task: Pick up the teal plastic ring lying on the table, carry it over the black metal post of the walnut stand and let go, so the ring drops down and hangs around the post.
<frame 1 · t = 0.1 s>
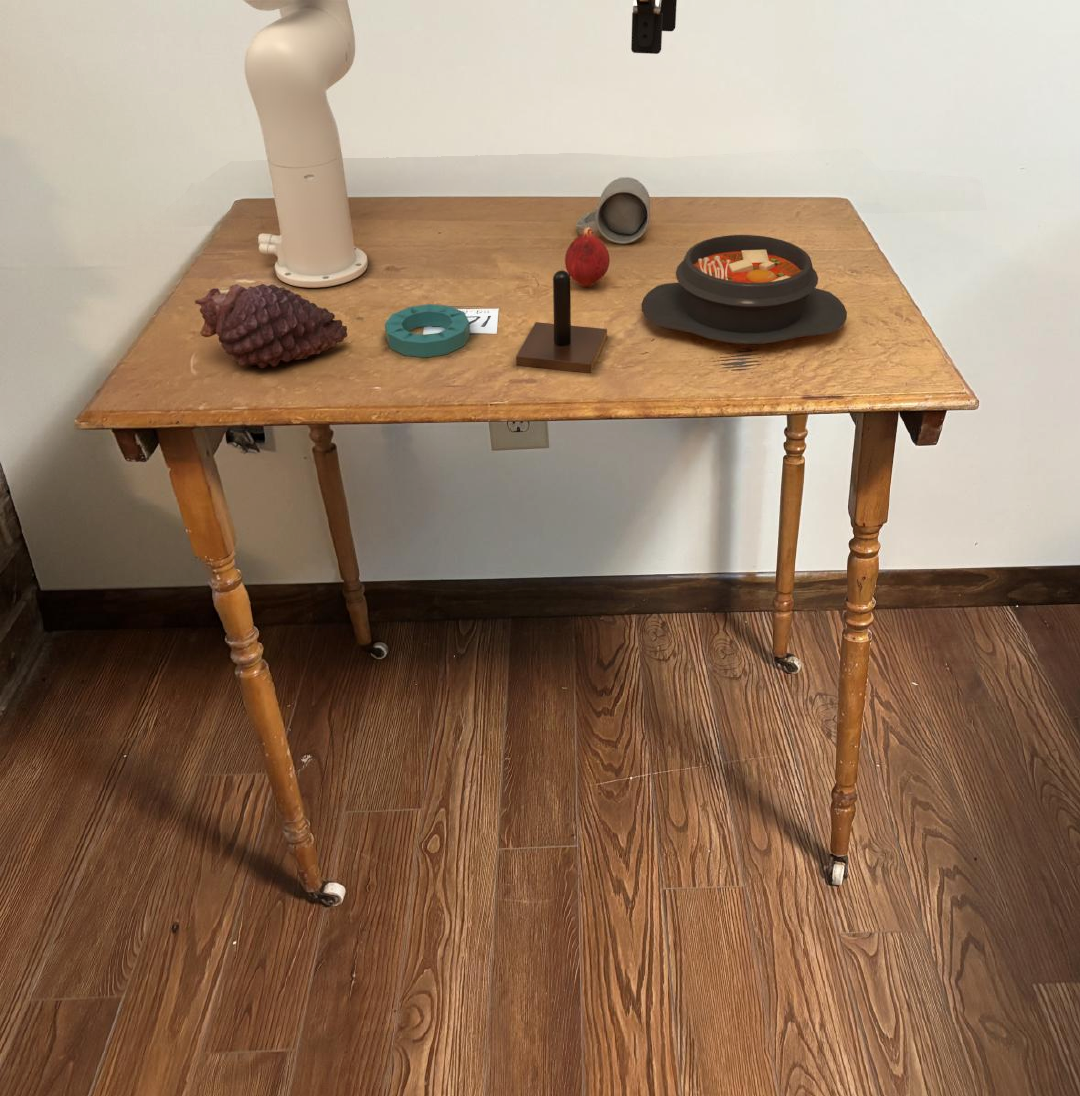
hand: (653, 41, 123), 31 cm above the table, tool pointing down, fingers open, 9 cm apart
ceramic mug: (614, 235, 159), on the table
pine cone: (278, 360, 132), on the table
onion: (587, 288, 145), on the table
casserole: (741, 323, 136), on the table
stand: (562, 351, 131), on the table
ring: (428, 337, 135), on the table
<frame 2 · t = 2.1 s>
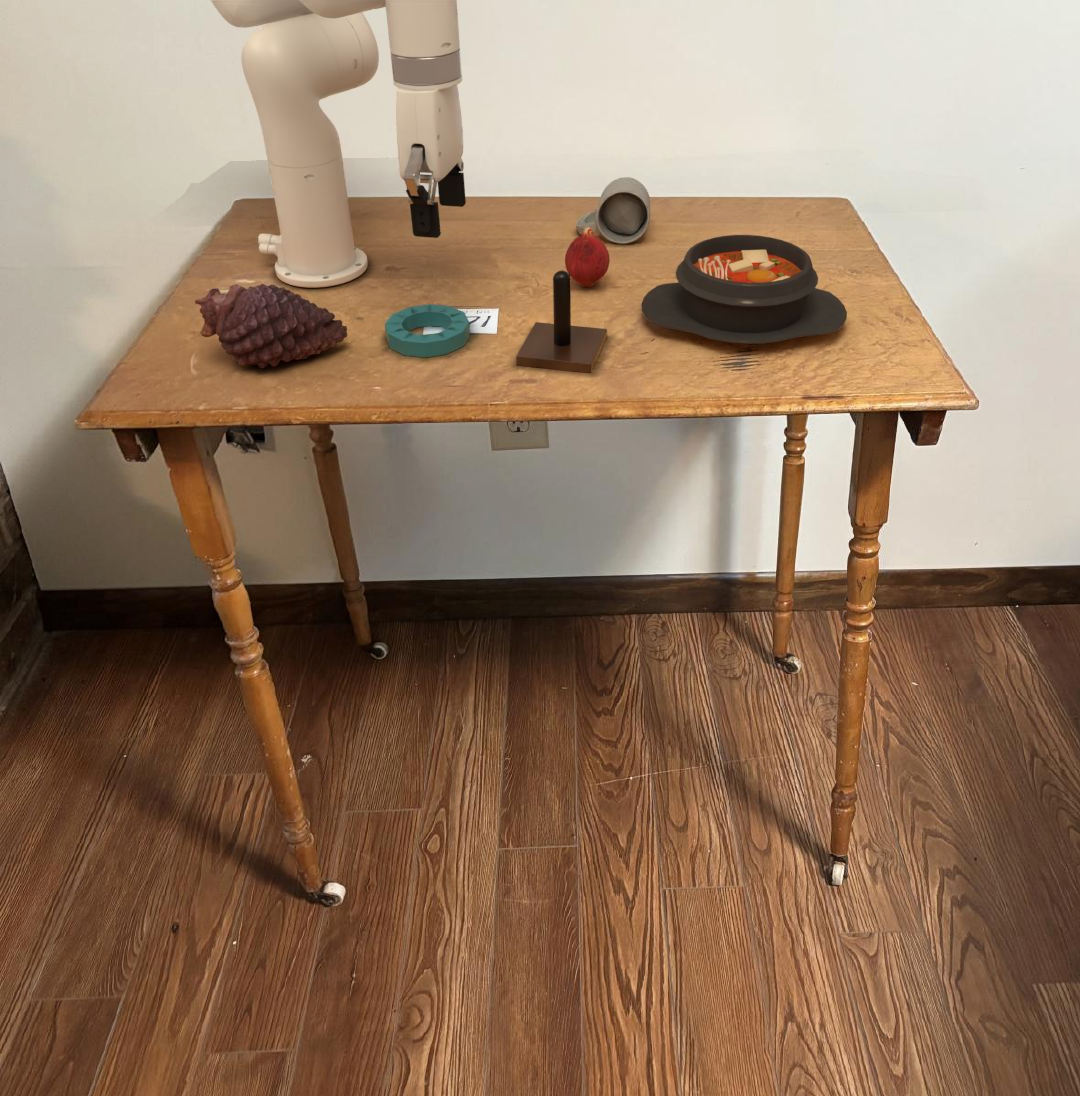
hand: (440, 220, 130), 13 cm above the table, tool pointing down, fingers open, 9 cm apart
nothing on the table moved.
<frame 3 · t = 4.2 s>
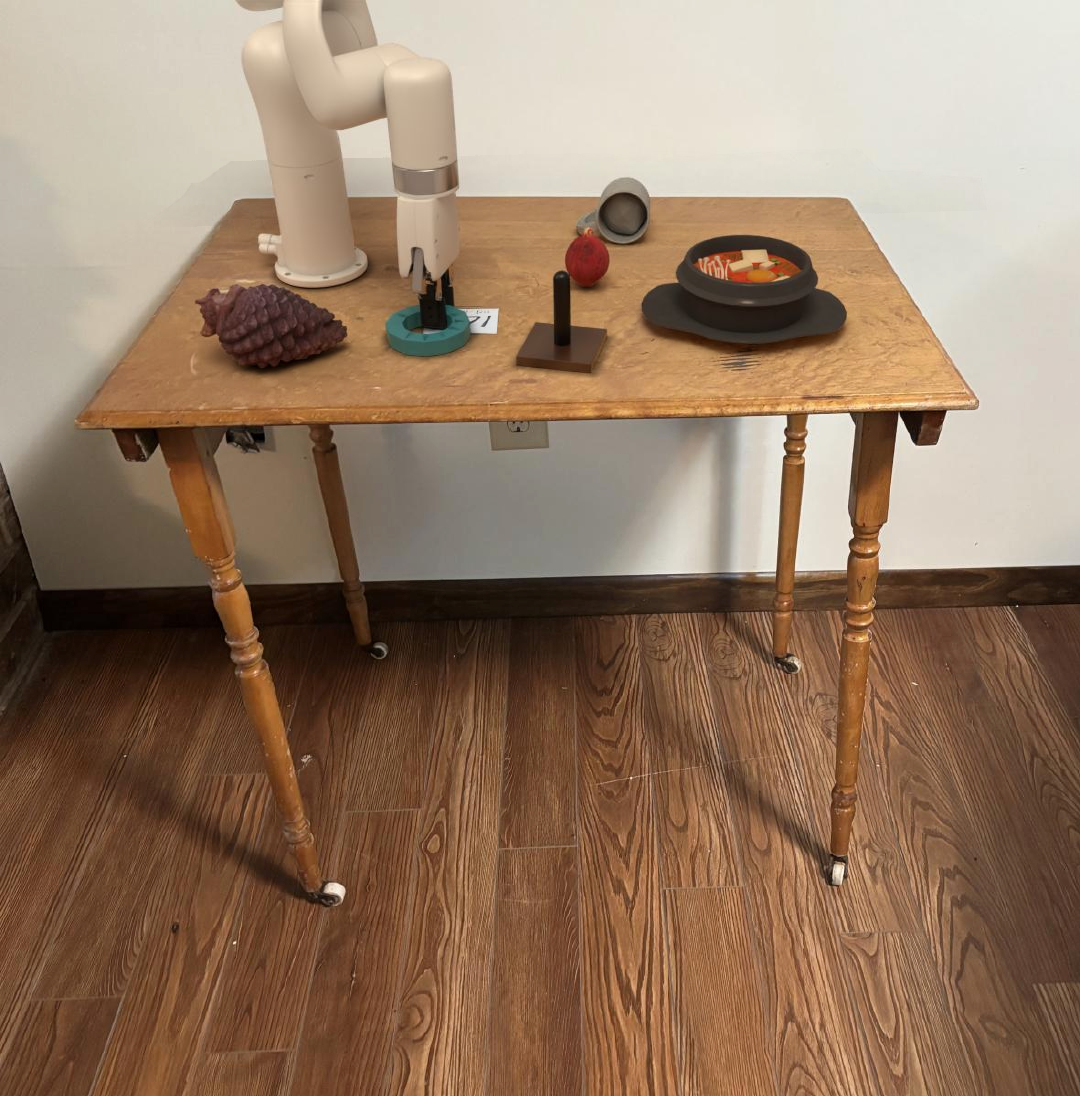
hand: (438, 320, 138), 0 cm above the table, tool pointing down, fingers closed on ring, 2 cm apart
ring: (428, 336, 135), on the table, touching gripper
everything else where it was.
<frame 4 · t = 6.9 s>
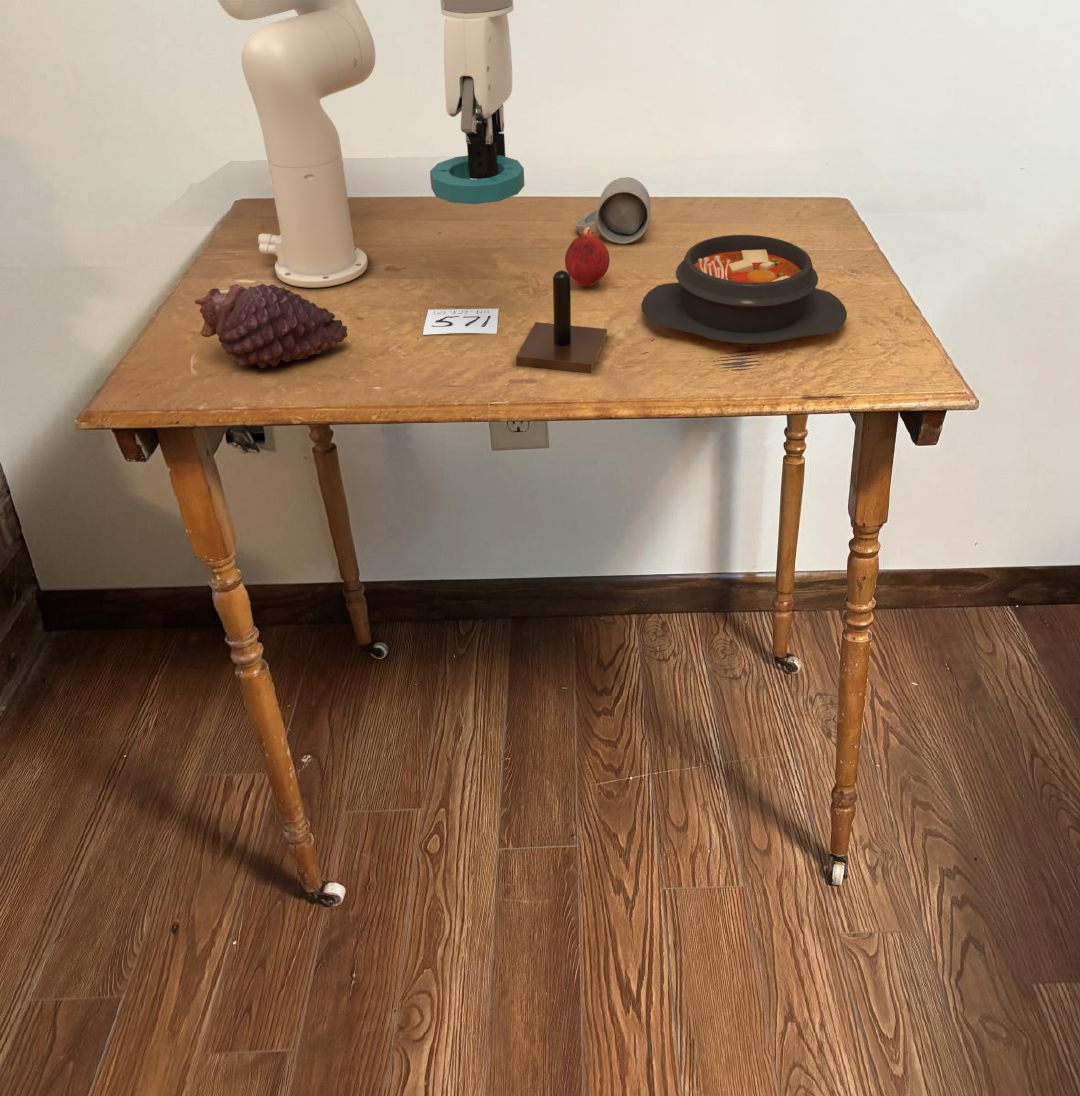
hand: (487, 172, 124), 20 cm above the table, tool pointing down, fingers closed on ring, 2 cm apart
ring: (477, 187, 122), point 19 cm above the table, touching gripper
everything else where it was.
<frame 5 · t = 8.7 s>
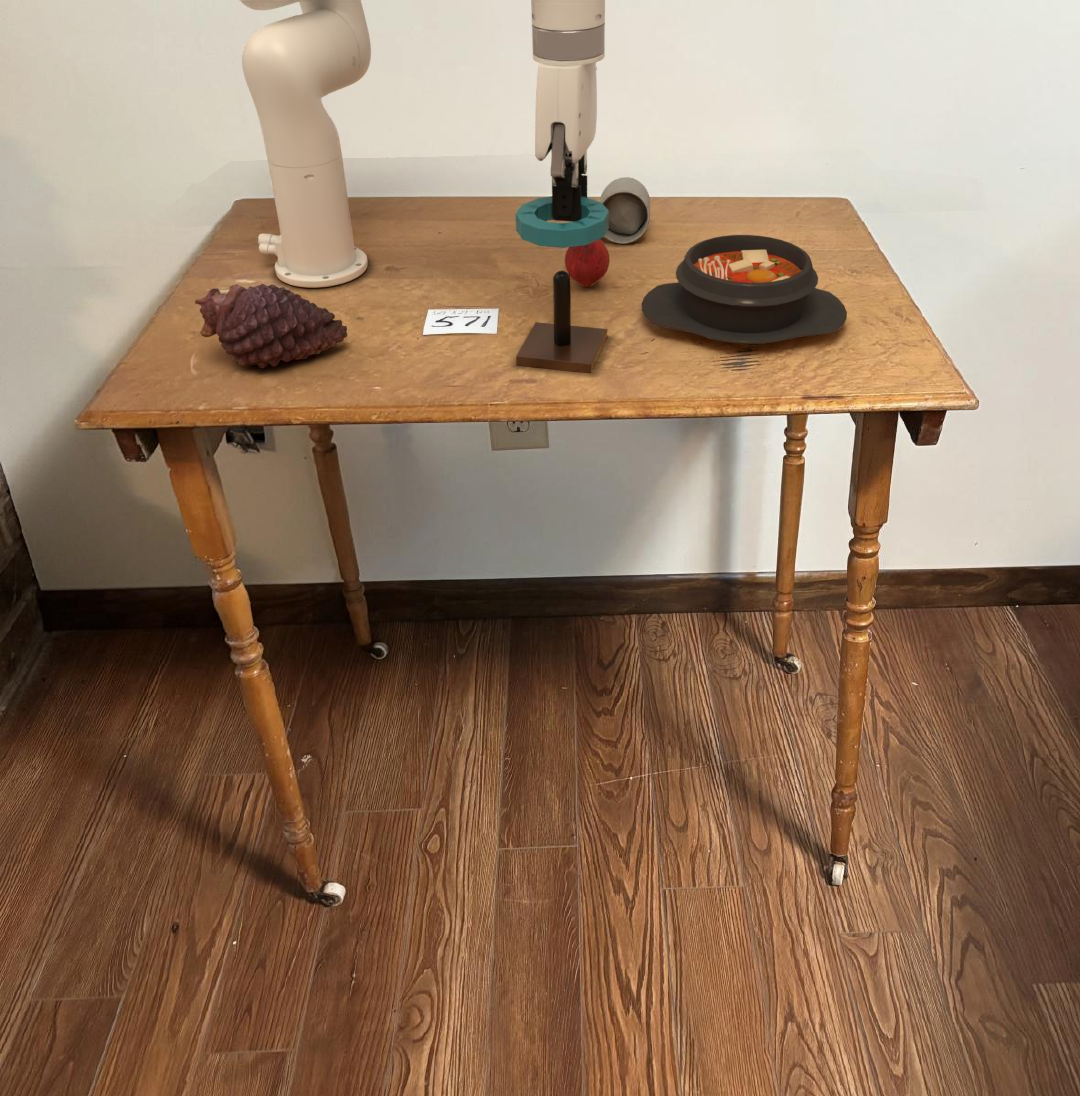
hand: (570, 213, 125), 15 cm above the table, tool pointing down, fingers closed on ring, 2 cm apart
ring: (562, 229, 122), point 15 cm above the table, touching gripper
everything else where it was.
when the fingers open (12 cm above the table, at t = 9.9 s): ring drops 11 cm, resting on stand.
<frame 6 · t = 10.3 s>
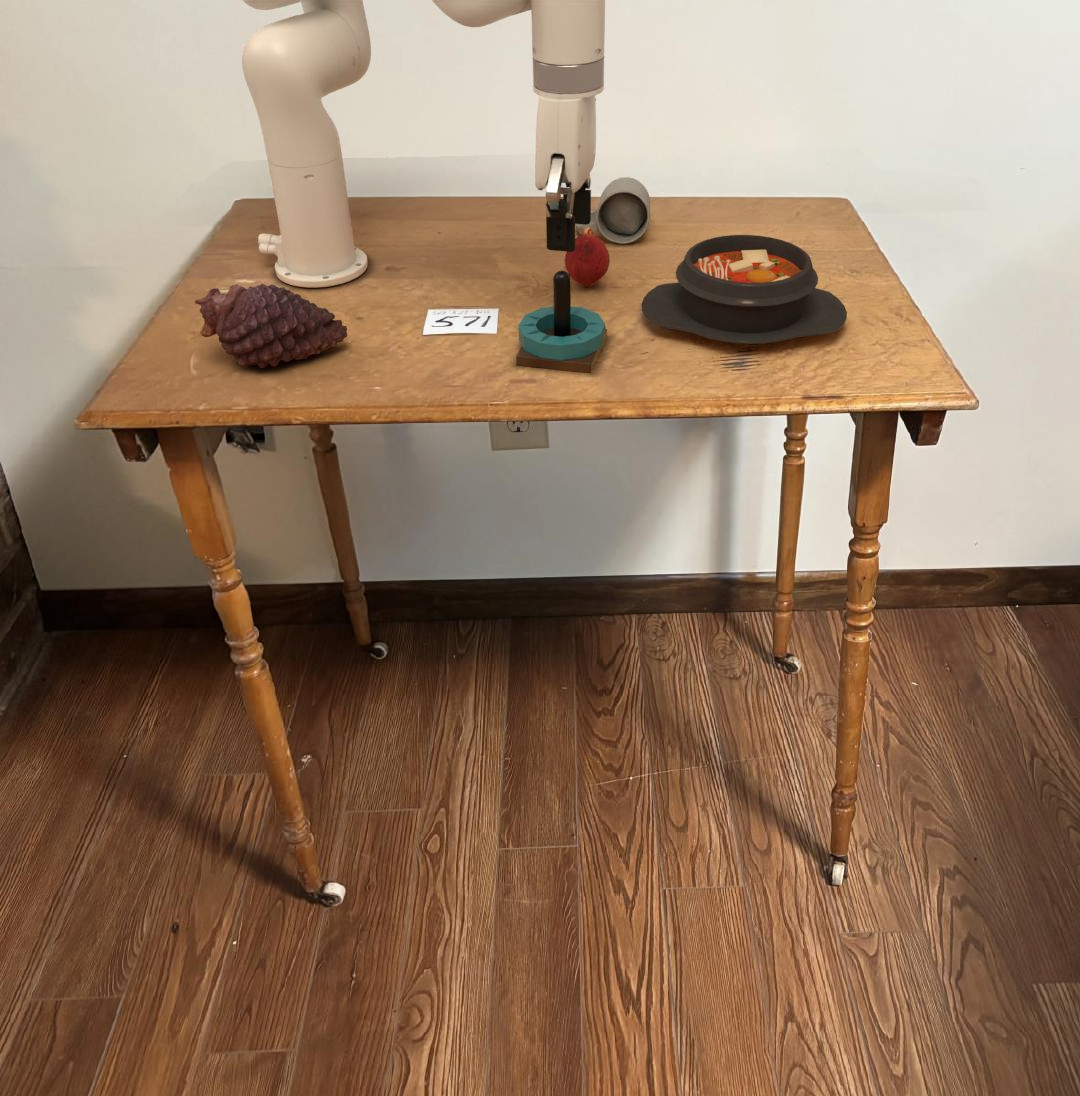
hand: (569, 235, 127), 13 cm above the table, tool pointing down, fingers open, 7 cm apart
ring: (562, 339, 131), point 1 cm above the table, touching stand
everything else where it was.
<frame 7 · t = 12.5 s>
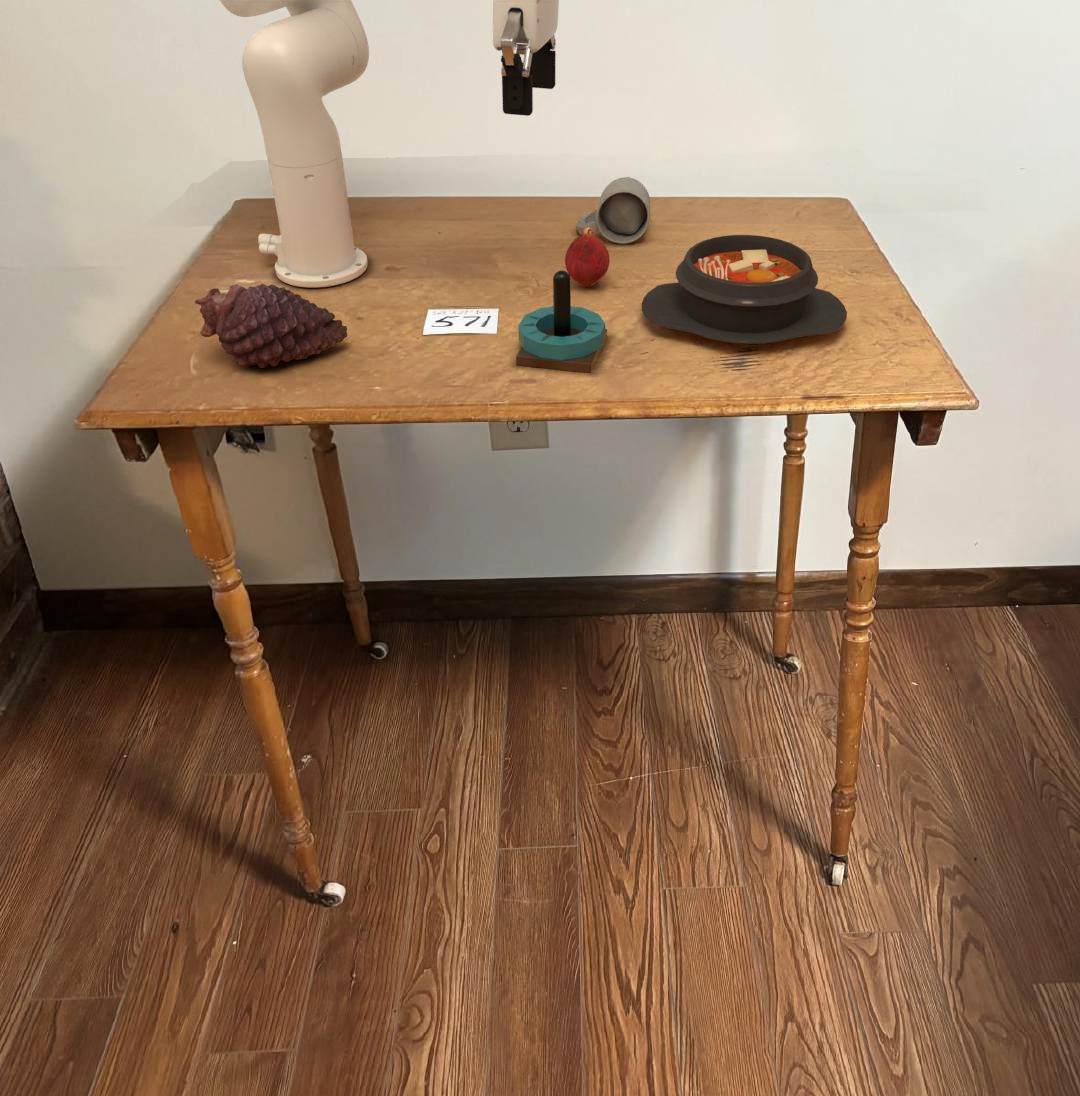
hand: (529, 100, 122), 27 cm above the table, tool pointing down, fingers open, 9 cm apart
nothing on the table moved.
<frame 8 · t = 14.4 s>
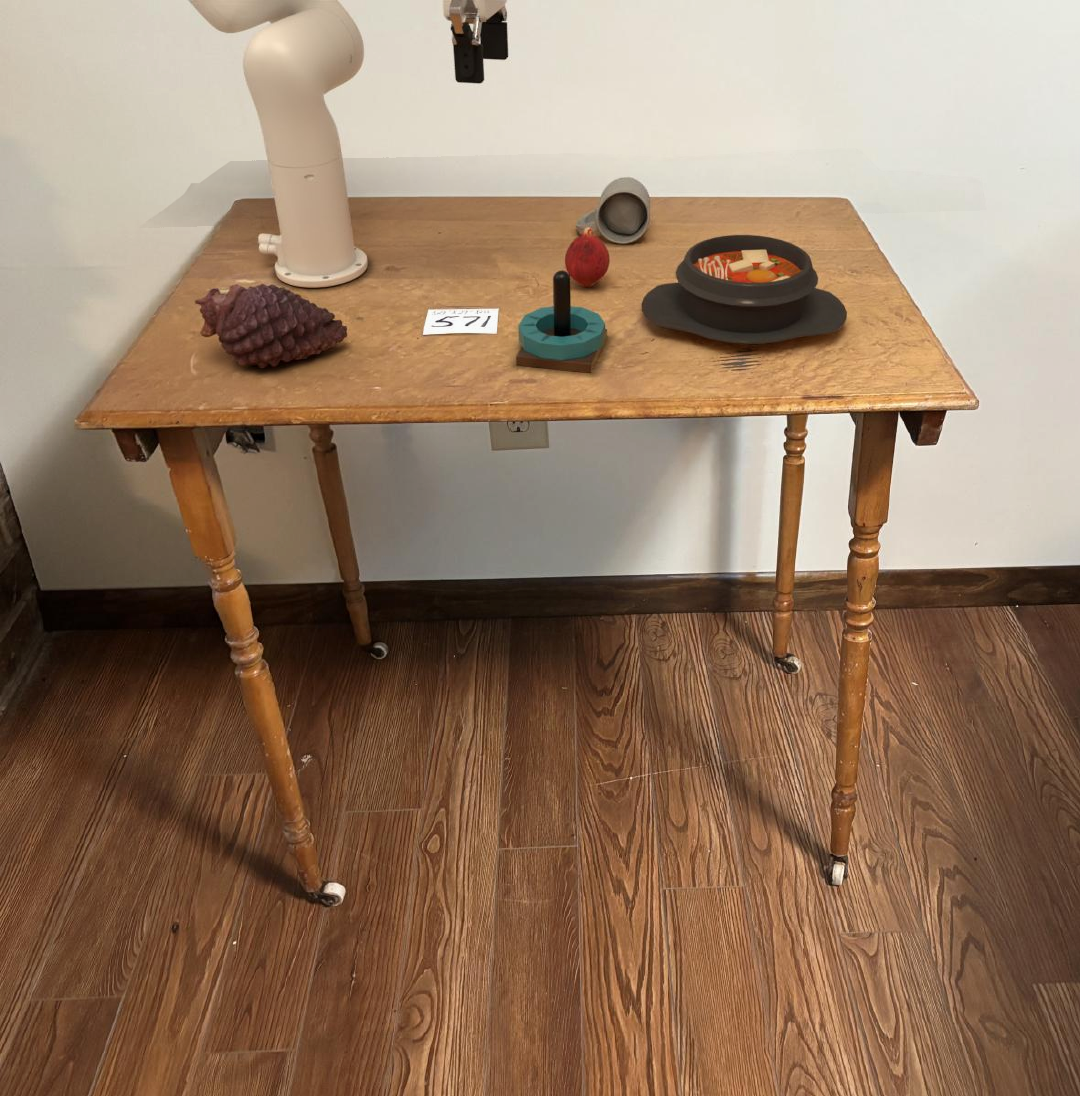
hand: (482, 70, 126), 28 cm above the table, tool pointing down, fingers open, 9 cm apart
nothing on the table moved.
at the end: ring 0.7 cm from the stand (horizontally); ring point 1.2 cm above the table; the gripper is holding nothing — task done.
